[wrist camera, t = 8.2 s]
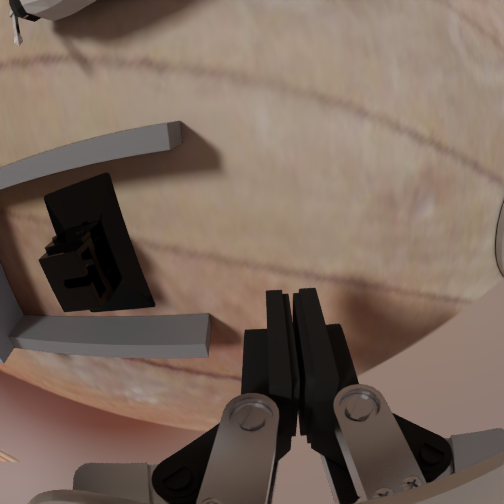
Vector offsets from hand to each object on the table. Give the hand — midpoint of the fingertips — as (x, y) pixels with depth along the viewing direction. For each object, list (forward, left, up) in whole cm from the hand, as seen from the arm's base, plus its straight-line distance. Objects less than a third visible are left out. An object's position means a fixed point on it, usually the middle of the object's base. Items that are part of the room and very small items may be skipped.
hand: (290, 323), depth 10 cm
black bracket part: (+11, 0, -9) cm, 14 cm away
